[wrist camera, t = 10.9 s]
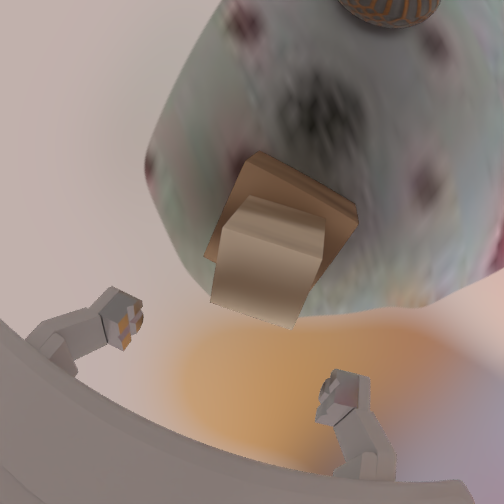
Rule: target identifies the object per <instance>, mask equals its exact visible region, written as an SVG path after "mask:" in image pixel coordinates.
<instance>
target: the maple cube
mask: <svg viewBox="0 0 504 504" xmlns="http://www.w3.org/2000/svg"><path fill="white" fill-rule="evenodd" d="M325 223H326V219H325V218H322V217H319V216H316V215H313V214H310V213H307V212H304V211H301V210H298V209H294V208H291V207H288V206H285V205H282V204H278V203H275V202H272V201H268V200H265V199H262V198H258V197H255V196H252V195H249V196H248V197H247V199H246V200H245V201H244V202H243V203H242V204H241V206H240V207H239V208H238V209H237V210H236V212H235V213H234V214H233V215H232V216H231V218H230V219H229V220H228V221H227V223H226V224H225V225H224V226H223V227H222V233H221V238H220V244H219V250H218V256H217V262H216V268H215V274H214V280H213V286H212V293H211V299H210V303H213V304H216V305H219V306H222V307H225V308H227V309H230V310H233V311H236V312H239V313H242V314H245V315H248V316H250V317H253V318H256V319H260V320H263V321H265V322H268V323H271V324H275V325H278V326H281V327H284V328H287V329H290V330H292V329H293V327H294V325H295V323H296V320H297V318H298V316H299V314H300V311H301V309H302V307H303V305H304V302H305V300H306V298H307V295H308V293H309V291H310V288H311V286H312V283H313V281H314V279H315V276H316V274H317V271H318V269H319V266H320V264H321V261H322V258H323V247H324V235H325Z"/></svg>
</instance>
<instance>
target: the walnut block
mask: <svg viewBox="0 0 504 504" xmlns="http://www.w3.org/2000/svg"><path fill="white" fill-rule="evenodd" d="M249 195H252V196H255V197H258V198H262V199H265V200H268V201H272V202H275V203H278V204H282V205H285V206H288V207H291V208H294V209H298V210H301V211H304V212H307V213H310V214H313V215H316V216H319V217H322V218H325V219H326V223H325V235H324V247H323V258H322V261H321V264H320V266H319V269H318V271H317V274H316V276H315V279H314V281H313V283H312V286H311V288H310V290H311V289H312V288H313V286H314V285H315V284H316V282H317V281H318V280H319V278H320V277H321V276H322V274H323V273H324V272H325V270H326V269H327V268H328V266H329V265H330V264H331V262H332V261H333V259H334V258H335V257H336V255H337V254H338V253H339V251H340V250H341V248H342V247H343V246H344V244H345V243H346V241H347V240H348V239H349V237H350V236H351V234H352V233H353V232H354V230H355V229H356V227H357V226H358V224H359V221H358V216H357V211H356V206H355V204H354V203H353V202H351V201H349V200H348V199H346V198H344V197H343V196H341V195H339V194H338V193H336V192H334V191H333V190H331V189H329V188H328V187H326V186H324V185H322V184H321V183H319V182H317V181H315V180H314V179H312V178H310V177H308V176H306V175H305V174H303V173H301V172H299V171H297V170H296V169H294V168H292V167H290V166H288V165H286V164H284V163H282V162H281V161H279V160H277V159H275V158H273V157H271V156H269V155H267V154H265V153H263V152H261V151H258V152H257V153H255V154H254V155H253V156H251V157H250V158H248V159H247V160H246V161H245V163H244V165H243V167H242V169H241V171H240V174H239V176H238V178H237V180H236V182H235V185H234V187H233V189H232V191H231V193H230V196H229V198H228V200H227V202H226V205H225V207H224V209H223V211H222V214H221V216H220V218H219V221H218V223H217V225H216V228H215V230H214V232H213V234H212V237H211V239H210V242H209V244H208V246H207V249H206V251H205V253H204V257H205V258H207V259H209V260H211V261H213V262H214V263H216V262H217V256H218V250H219V244H220V238H221V233H222V227H223V226H224V225H225V224H226V223H227V221H228V220H229V219H230V218H231V216H232V215H233V214H234V213H235V212H236V210H237V209H238V208H239V207H240V206H241V204H242V203H243V202H244V201H245V200H246V199H247V197H248V196H249Z"/></svg>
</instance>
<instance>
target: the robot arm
mask: <svg viewBox="0 0 504 504" xmlns="http://www.w3.org/2000/svg"><path fill="white" fill-rule="evenodd" d="M142 307H143V305H142V300H140V299H137V298H135V297H133V296H131V295H129V294H127V293H125V292H123V291H121V290H119V289H117V288H115V287H113V286H112V287H109V288H108V289H107V290H106V291H105V292H104V293H103V294H102V295H101V296H100V297H99V298H98V299H97V300H96V301H95V302H94V303H93V304H92V305H91V306H90V307H89V309H87V308H83V309H80V310H77V311H73V312H70V313H67V314H64V315H61V316H58V317H54V318H52V319H48V320H45V321H42V322H41V323H40V324H39V325H38V326H37V327H36V328H35V329H34V330H33V331H32V332H31V333H30V334H29V336H28V337H27V338H26V339H25V340H24V339H23V338H21V337H20V336H19V335H18V334H17V333H16V332H15V331H13V330H12V329H11V328H10V327H9V326H8V325H7V324H6V323H4V322H3V321H2V320H1V319H0V504H475V502H474V499H473V497H472V495H471V494H470V492H469V490H468V489H467V487H466V486H465V484H464V483H463V481H461V480H458V479H457V480H454V479H453V480H441V481H421V482H395V479H396V462H397V454H396V452H395V450H394V448H393V447H392V445H391V443H390V441H389V440H388V438H387V436H386V434H385V432H384V430H383V429H382V427H381V426H380V423H379V422H378V420H377V418H376V416H375V415H374V413H373V412H371V411H370V378H369V377H367V376H362V375H358V374H355V373H351V372H346V371H343V370H339V369H334V370H333V371H332V372H331V376H330V378H328V379H326V380H325V382H324V383H323V385H322V388H321V391H320V394H319V401H320V403H321V405H320V406H319V407H318V408H317V412H316V418H315V422H316V423H320V424H324V425H329V426H333V429H334V431H335V434H336V437H337V439H338V442H339V444H340V447H341V450H342V452H343V455H344V458H345V461H346V463H345V464H343V465H341V466H339V467H338V468H336V469H335V470H334V472H333V476H326V475H320V474H314V473H308V472H303V471H298V470H293V469H288V468H284V467H279V466H275V465H271V464H267V463H263V462H260V461H256V460H252V459H249V458H246V457H242V456H239V455H236V454H232V453H229V452H226V451H223V450H220V449H218V448H215V447H212V446H209V445H206V444H204V443H201V442H198V441H196V440H193V439H191V438H188V437H186V436H183V435H181V434H178V433H176V432H174V431H172V430H169V429H167V428H165V427H163V426H160V425H158V424H156V423H154V422H152V421H150V420H148V419H146V418H144V417H142V416H140V415H138V414H136V413H134V412H132V411H130V410H128V409H126V408H124V407H123V406H121V405H119V404H117V403H115V402H114V401H112V400H110V399H108V398H107V397H105V396H103V395H101V394H100V393H98V392H97V391H95V390H93V389H91V388H90V387H88V386H87V385H85V384H84V383H82V382H81V381H79V380H78V379H76V378H75V376H76V375H77V373H78V369H77V367H76V365H75V363H74V360H76V359H78V358H80V357H82V356H84V355H87V354H89V353H91V352H92V351H95V350H97V349H99V348H101V347H103V346H105V345H107V343H108V344H110V345H112V346H114V347H116V348H118V349H120V350H122V351H124V350H125V349H126V347H127V346H128V345H129V343H130V342H131V335H134V334H136V333H137V332H138V331H139V330H140V328H141V325H142V323H143V318H144V317H143V313H142V311H141V308H142Z"/></svg>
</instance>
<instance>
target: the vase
mask: <svg viewBox="0 0 504 504" xmlns="http://www.w3.org/2000/svg"><path fill="white" fill-rule="evenodd" d="M338 1H339V2H340V3H341V4H342V5H343V6H344V7H345V8H346V9H347V10H348V11H349V12H351V13H352V14H353V15H355V16H356V17H358V18H360V19H362V20H364V21H366V22H368V23H371V24H374V25H377V26H381V27H387V28H404V27H410V26H414V25H416V24H418V23H420V22H422V21H424V20H426V19H427V18H428V17H430V16H431V15H432V14H433V13H434V12H435V11H436V9H437V8H438V6H439V4H440V2H441V0H338Z"/></svg>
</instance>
